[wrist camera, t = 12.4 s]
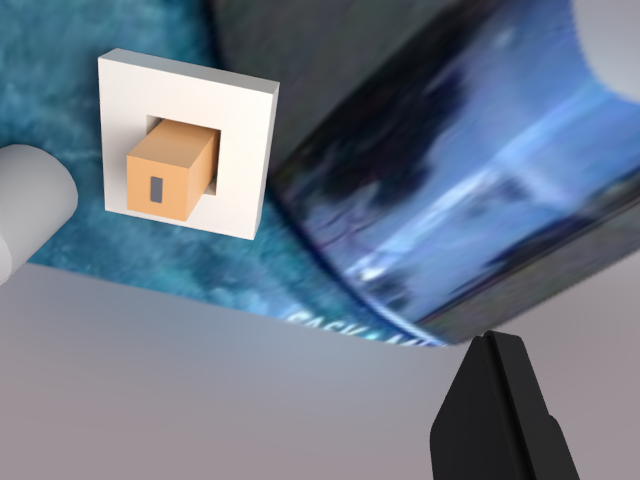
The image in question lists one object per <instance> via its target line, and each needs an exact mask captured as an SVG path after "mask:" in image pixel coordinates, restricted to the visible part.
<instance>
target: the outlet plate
mask: <svg viewBox="0 0 640 480" xmlns="http://www.w3.org/2000/svg"><path fill="white" fill-rule="evenodd" d="M98 69H99V90H100V110H101V131H102V152H103V172H104V193H105V210H106V211H111V212H116V213H121V214H126V215H131V216H136V217H141V218H146V219H151V220H156V221H161V222H166V223H171V224H176V225H181V226H185V227H190V228H195V229H200V230H205V231H210V232H215V233H220V234H225V235H230V236H235V237H240V238H245V239H250V240H254V237H255V234H256V231H257V229H258V226H259V223H260V219H261V212H262V205H263V198H264V191H265V183H266V176H267V169H268V162H269V155H270V148H271V141H272V134H273V127H274V120H275V113H276V106H277V99H278V91H279V84H280V82H275V81H271V80H266V79H261V78H256V77H252V76H247V75H242V74H237V73H233V72H228V71H223V70H218V69H214V68H209V67H204V66H199V65H195V64H190V63H185V62H180V61H176V60H171V59H166V58H161V57H157V56H152V55H147V54H143V53H138V52H133V51H128V50H124V49H119V48H116V49H114V50H112V51H110V52H108V53H106V54H104V55H102V56H100V57H98ZM165 118H166V119H170V120H175V121H180V122H185V123H190V124H195V125H199V126H204V127H209V128H214V129H219V130H220V136H219V146H218V157H217V167H216V173H215V175H214V176H213V178H212V180H211V181H210V183H209V185H208V186H207V188H206V190H205V191H204V193H203V194H202V196H201V198H200V199H199V201H198V203H197V204H196V206H195V207H194V209H193V211H192V212H191V214H190V216H189V217H188V219H187V221H186V222H184V221H179V220H175V219H170V218H165V217H161V216H156V215H151V214H147V213H142V212H137V211H133V210H128V209H127V155H128V154H129V153H130V152H131V151H132V150H133V149H134V148H135V147H136V146H137V145H138V144H139V143H140V142H141V141H142V140H143V139H144V138H145V137H146V136H147V135H148V134H149V133H150V132H151V131H152V130H153V129H154V128H155V127H157V126H158V125H159V124H160V123H161V122H162V121H163V120H164V119H165Z"/></svg>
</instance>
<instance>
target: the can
mask: <svg viewBox="0 0 640 480" xmlns="http://www.w3.org/2000/svg"><path fill="white" fill-rule="evenodd" d="M77 202H78V193H77V189H76V185H75V182H74V180H73V179H72V177H71V175H70V174H69V172H68V170H67V169H66V168H65V167H64V166H63V165H62V164H61V163H60V162H59V161H58V160H57V159H56V158H54V157H53V156H51V155H50V154H48V153H47V152H45V151H43V150H41V149H38V148H35V147H32V146H29V145H18V144H13V145H10V146H6V147H3V148H1V149H0V285H1V284H3V283H4V282H6V281H7V280H8V279H9V278H10V277H11V276H12V275H13V274H14V273H15V272H16V271H17V270H18V269H19V268H20V267H21V266H22V265H23V264H24V263H25V262H26V261H27V260H28V259H29V258H30V257H31V256H32V255H33V254H34V253H35V252H36V251H37V250H38V249H39V248H40V247H41V246H42V245H43V244H44V243H45V242H46V241H47V240H48V239H49V238H50V237H51V236H52V235H53V234H54V233H55V232H56V231H57V230H58V229H59V228H60V227H61V226H62V225H63V224H64V223H65V222H66V221H67V220H68V219H69V218H70V217H71V216H72V215H73V213H74V211H75V210H76V208H77Z"/></svg>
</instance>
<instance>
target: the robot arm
mask: <svg viewBox="0 0 640 480" xmlns="http://www.w3.org/2000/svg"><path fill="white" fill-rule="evenodd" d="M430 451H431V461H432V470H433V479H434V480H580V479H579V476H578V473H577V470H576V468H575V465H574V462H573V460H572V457H571V454H570V452H569V449H568V446H567V443H566V441H565V438H564V435H563V433H562V430H561V428H560V426H559V424H558V422H557V420H556V419H555V418H553V416H551V415H549V413H548V410H547V407H546V405H545V401H544V399H543V396H542V394H541V390H540V388H539V385H538V382H537V379H536V376H535V373H534V371H533V368H532V365H531V362H530V360H529V357H528V354H527V351H526V348H525V345H524V343H523V341H522V339H521V338H520V337H519V336H516V335H511V334H505V333H501V332H496V331H491V330H489V331H487V332H486V333H485V334H484V335H483V337H481V336H476V337H474V339H473V340H472V342H471V345H470V347H469V349H468V351H467V353H466V355H465V357H464V359H463V362H462V364H461V366H460V368H459V370H458V372H457V374H456V376H455V378H454V381H453V383H452V385H451V387H450V389H449V391H448V393H447V395H446V397H445V400H444V402H443V404H442V406H441V408H440V410H439V412H438V414H437V417H436V419H435V421H434V423H433V425H432V428H431V432H430Z"/></svg>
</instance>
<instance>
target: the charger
mask: <svg viewBox="0 0 640 480" xmlns="http://www.w3.org/2000/svg"><path fill="white" fill-rule="evenodd" d="M219 136H220V130H219V129H214V128H209V127H204V126H199V125H195V124H190V123H185V122H180V121H175V120H170V119H166V118H165V119H164V120H163V121H162V122H161V123H160V124H159V125H158V126H157V127H155V128H154V129H153V130H152V131H151V132H150V133H149V134H148V135H147V136H146V137H145V138H144V139H143V140H142V141H141V142H140V143H139V144H138V145H137V146H136V147H135V148H134V149H133V150H132V151H131V152H130V153H129V154H128V155H127V209H128V210H133V211H137V212H142V213H147V214H151V215H156V216H161V217H165V218H170V219H175V220H179V221H184V222H186V221H187V219H188V217H189V216H190V214H191V212H192V211H193V209H194V207H195V206H196V204H197V203H198V201H199V199H200V198H201V196H202V194H203V193H204V191H205V190H206V188H207V186H208V185H209V183H210V181H211V180H212V178H213V176H214V175H215V173H216V167H217V157H218V146H219Z"/></svg>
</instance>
